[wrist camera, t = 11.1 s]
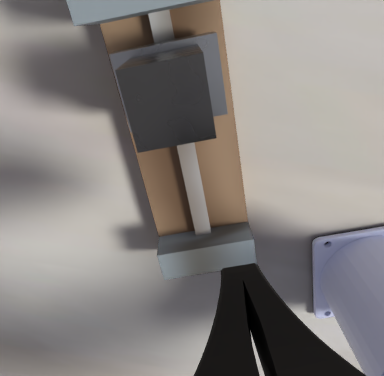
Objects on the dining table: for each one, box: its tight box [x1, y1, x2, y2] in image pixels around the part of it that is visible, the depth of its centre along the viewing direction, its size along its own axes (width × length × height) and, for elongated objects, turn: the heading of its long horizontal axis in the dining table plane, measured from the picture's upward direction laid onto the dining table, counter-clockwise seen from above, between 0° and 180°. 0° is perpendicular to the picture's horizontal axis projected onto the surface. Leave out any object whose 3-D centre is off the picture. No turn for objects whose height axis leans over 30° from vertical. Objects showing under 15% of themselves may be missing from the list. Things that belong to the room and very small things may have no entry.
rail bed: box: [100, 0, 257, 280], centre depth 18 cm, size 6×20×3 cm, turn 10°
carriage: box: [109, 31, 228, 153], centre depth 14 cm, size 5×4×6 cm
